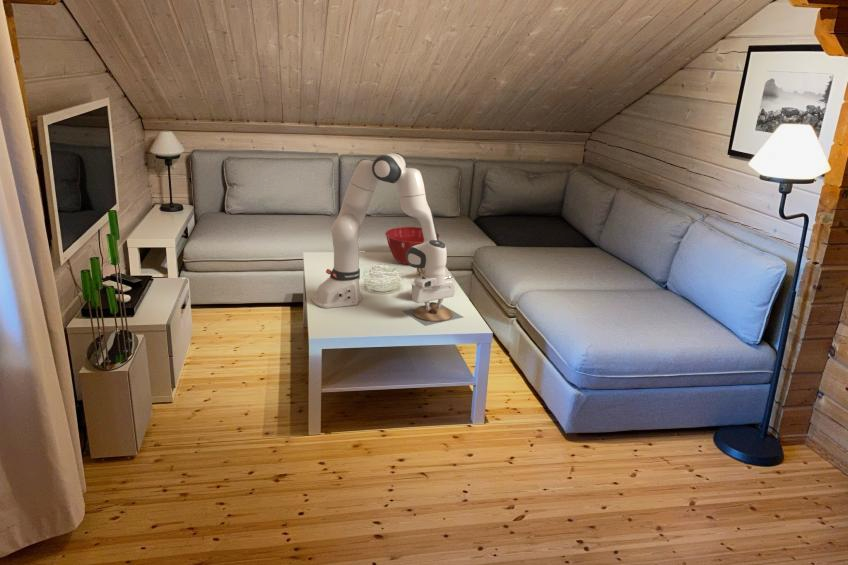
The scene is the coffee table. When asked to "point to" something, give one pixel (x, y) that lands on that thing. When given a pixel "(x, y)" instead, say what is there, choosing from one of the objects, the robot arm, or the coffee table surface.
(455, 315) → the mat
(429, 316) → the lid
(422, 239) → the mixing bowl
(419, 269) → the lion figurine
